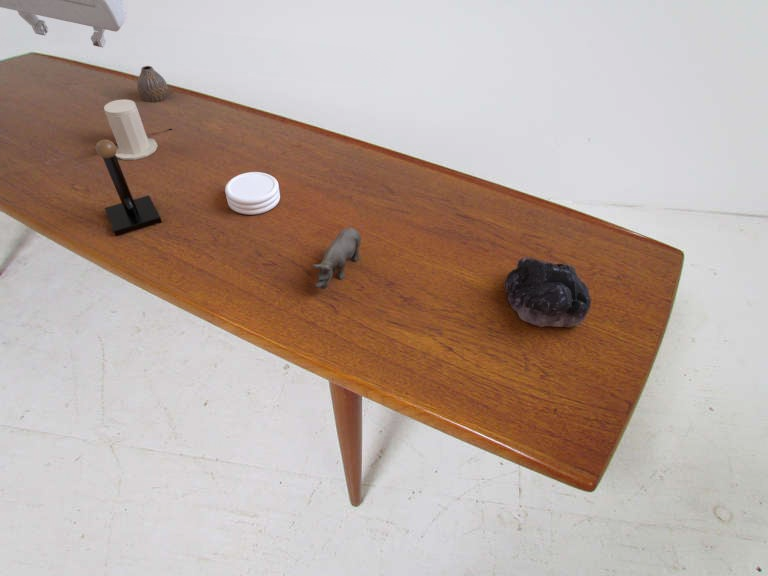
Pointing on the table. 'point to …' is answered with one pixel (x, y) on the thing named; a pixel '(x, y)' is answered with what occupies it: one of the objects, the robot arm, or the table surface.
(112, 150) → the stand
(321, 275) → the rhino figurine
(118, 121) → the hat
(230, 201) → the white round stack
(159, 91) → the vase
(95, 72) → the table surface
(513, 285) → the crystal cluster
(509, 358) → the table surface
